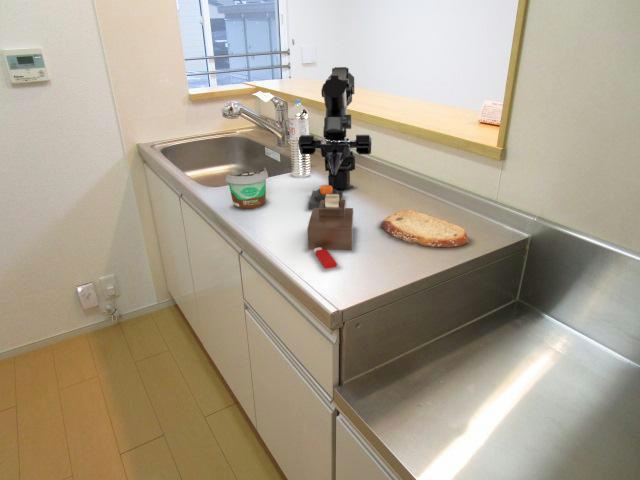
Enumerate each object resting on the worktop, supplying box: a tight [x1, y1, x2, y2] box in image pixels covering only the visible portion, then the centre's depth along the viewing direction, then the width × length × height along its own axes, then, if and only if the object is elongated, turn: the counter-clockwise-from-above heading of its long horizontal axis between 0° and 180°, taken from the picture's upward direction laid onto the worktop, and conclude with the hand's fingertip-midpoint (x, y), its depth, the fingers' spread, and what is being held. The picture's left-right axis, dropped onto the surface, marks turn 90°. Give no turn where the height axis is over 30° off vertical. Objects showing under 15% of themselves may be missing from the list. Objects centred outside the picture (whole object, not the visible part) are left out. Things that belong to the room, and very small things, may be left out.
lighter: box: [313, 247, 338, 269], centre depth 99 cm, size 3×1×8 cm
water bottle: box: [287, 98, 312, 178], centre depth 150 cm, size 7×7×25 cm
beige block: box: [325, 194, 339, 207], centre depth 108 cm, size 3×3×2 cm
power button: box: [319, 184, 332, 194], centre depth 129 cm, size 4×4×2 cm
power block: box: [308, 188, 344, 211], centre depth 130 cm, size 11×9×4 cm
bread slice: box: [380, 209, 469, 248], centre depth 110 cm, size 18×18×4 cm
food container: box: [225, 167, 269, 211], centre depth 127 cm, size 12×6×10 cm, turn 118°
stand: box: [307, 199, 354, 251], centre depth 107 cm, size 13×10×8 cm
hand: (334, 174), depth 114 cm, fingers closed
